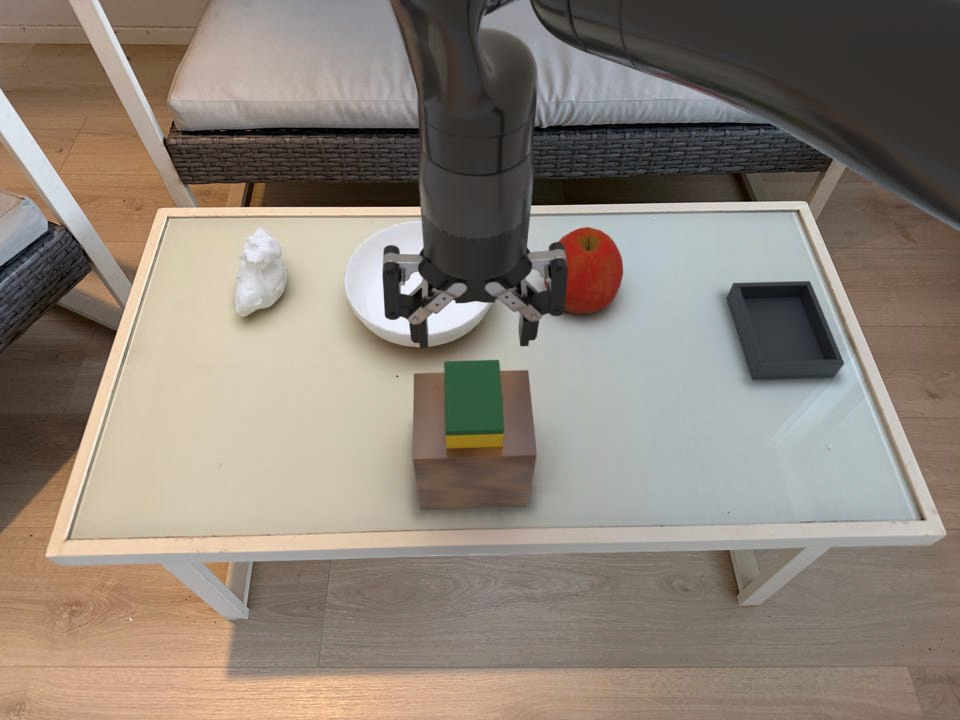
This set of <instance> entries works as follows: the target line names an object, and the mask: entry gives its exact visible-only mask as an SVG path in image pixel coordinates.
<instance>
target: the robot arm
mask: <svg viewBox="0 0 960 720" xmlns="http://www.w3.org/2000/svg"><path fill="white" fill-rule="evenodd" d="M385 1H386V4H387V6H388V9H389V11H390V13H391V16H392V19H393V22H394V24H395V27H396V30H397V32H398V35H399V40H400V42H401V44H402V46H403V48H402V49H403V50H404V53H405V56H406V60H407V63H408V66H409V68H410V72H411V74H412V78H413V81H414V84H415V89H416V105H417V107H416V108H417V120H418V121H417V122H418V134H419V135H418V137H419V152H418V154H419V155H418V161H417V177H418V178H417V184H418V191H419V203H420V204H419V205H420V221H422V234H423V249H422V250H421V252H420V253H419V254H400V250H399V248H398V247H397V246H394V245H388V246H386V247H385V248H384V253H383V273H382V276H383V293H384V310H385V317H386V318H387V319H389V320H396V319H398V318H399V317H403V318H406V319H407V320H408V321H409V326H410V335H411V340H412V342H413V343H419V345H420V347H419V349H421V350H424V349H427V350H428V349H429V346H428V322H427V318H428V317H429V316H430V315H431V314H432V313H435V314H438V313H439V312H440V311H441V310H442V309H443V308H444V307H446V306H447V305H448V304H449V303H450V302H451V301H452V300H454V301H455V303H468V302H474V301H477V302H484V303H492V304H494V303H496V300H499V301H500V302H501V303H502V304H504V305H505V306H506V307H507V308H508V309H509V310H510V311H512V312H513V313H516V312H518V313H519V318H518V337H519V338H518V340H519V347H529V345H530V341H535V340H536V339H537V338H538V332H539V324H540V320H541V319H542V317H543V316H545V315H548V314H549V315H551V316H552V317H560V316H562V315H564V314H565V311H566V310H565V301H566V289H567V277H568V266H567V259H566V253H565V247H564V244H563V243H561V242H558V241H555V242H552V243H550V245H549V246H548V250H543V251H542V250H541V251H531V250H530V249H529V248H528V243H529V242H528V241H529V239H528V238H529V233H530V231H529V230H530V220H531V211H532V203H533V201H532V200H533V192H534V191H533V190H534V180H535V160H534V159H535V158H534V136H535V125H536V116H537V115H536V114H537V106H538V105H537V103H538V96H539V95H538V94H539V73H538V71H539V70H538V64H537V61H536V58H535V55H534V52H533V51H532V49H531V48H530V46H528V43H526V42H525V41H523V40H522V38H520V37H518V36H517V35H515V34H513V33H511V32H509V31H506V30H503V29H500V28H499V29H498V28H492V27H484V26H482V23H483V18H484V17H486V16H487V15H490V14H492V13H495V12H497V11H499V10H501V9H503V8H506V7H508V6H510V5H512V4H515V3H517V2H519V1H520V0H385ZM528 1H529V3H530V6H531V8H532V11H533V13H534V15H535V17H536V19H537V20H538V22H539V23H540V24H541V26H542V27H543V28H544V29H545V30H546V31H547V32H548V33H550V34H551V36H553V37H554V38H555V39H557V40H559V41H560V42H562V43H563V44H565V45H567V46H570V47H571V48H573V49H576V50H579V51H581V52H584V53H586V54H589V55H590V56H591V55H592V56H595V57H598V58H600V59H603V60H606V61H608V62H612V63H614V64H618V65H620V66H623V67H626V68H628V69H632V70H634V71H637V72H641V73H643V74H646V75H649V76H652V77H655V78H657V79H661V80H663V81H667V82H670V83H673V84H677V85H679V86H683V87H685V88H688V89H691V90H693V91H696V92H698V93H700V94H703V95H706V96H709V97H711V98H714V99H716V100H719V101H721V102H723V103H726V104H728V105H729V106H732V107H734V108H737V109H739V110H741V111H743V112H745V113H747V114H750V115H752V116H754V117H755V118H757V119H760V121H761V120H762V121H763V122H766V123H767V124H770V125H771V126H773V127H776V128H777V129H779V130H781V131H783V132H784V133H786V134H788V135H790V136H792V137H794V138H795V139H797V140H799V141H801V142H802V143H805V144H806V145H808V146H809V147H812V148H814V149H815V150H817V151H819V152H821V153H822V154H823V155H826V156H827V157H829V158H830V159H832V160H834V161H836V162H838V163H839V164H841V165H843V166H844V167H846V168H848V169H850V170H851V171H853V172H855V173H856V174H858V175H860V176H862V177H864V178H865V179H867V180H868V181H870V182H871V183H873V184H875V185H877V186H879V187H881V188H882V189H884V190H886V191H887V192H889V193H891V194H892V195H894V196H896V197H898V198H899V199H901V200H902V201H904V202H905V203H908V204H910V205H912V206H913V207H914V208H917V209H918V210H920V211H922V212H924V213H925V214H927V215H929V216H931V217H933V218H935V219H937V220H938V221H940V222H942V223H944V224H945V225H947V226H949V227H951V228H953V229H955V230H956V231H958V232H960V0H528ZM532 270H535V271H537V272H538V273H539V276H540V277H541V278H543V279H544V278H545V281H546V282H547V289H545V290H542V291H539V290H537V289H536V288H535V286H533V285H532V284H531V283H530V282H529V281H528V280H527V277H528V276H529V275H530V274H531V272H532ZM414 272H419V274H420V275H421V277H422V278H423V279H422V282H421V284H420V285H419V286H418V287H417V288H416V289H415V290H413V291H412V292H411V293H410V294H409V295H406V294H402V293H401V286H403V285H405V281H407V280H409V279H410V276H411V274H412V273H414Z"/></svg>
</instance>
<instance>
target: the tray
mask: <svg viewBox="0 0 960 720" xmlns="http://www.w3.org/2000/svg"><path fill="white" fill-rule="evenodd" d="M726 301H727V305H728V307H729V310H730V313H731V317H732V320H733V323H734V326H735V329H736V333H737V335H738V339H739V342H740V345H741V348H742V351H743V355H744V357H745V361H746V364H747V367H748V370H749V373H750V377H751V379H752V380H754V381H755V380H758V381H759V380H790V379H791V380H794V379H826V378H827V379H829V378H830V379H831V378H834V377H836V375H837V374H838V373H839V371H840V370H841V369H842V367H843V366H844V365H845V362H844V359H843V357H842V354H841V352H840V349H839V347H838V345H837V342H836V340H835V338H834V335H833V333H832V330H831V328H830V325H829V324H828V323H829V322H828V321H827V318H826V315H825V314H824V312H823V309H822V307H821V304H820V301H819V299H818V297H817V294H816V292H815V289H814V287H813V285H812V283H811V281H810V280H801V281H800V280H799V281H798V280H797V281H794V280H793V281H765V282H764V281H761V282H760V281H759V282H757V281H756V282H733V283H732V285H731V286H730V289H729V291H728V294H727V295H726Z"/></svg>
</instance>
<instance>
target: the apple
mask: <svg viewBox="0 0 960 720" xmlns="http://www.w3.org/2000/svg"><path fill="white" fill-rule="evenodd" d="M557 242H561V243H563V244H564V247H565V253H566V259H567V266H568V277H567V289H566V301H565V311H566V312H568V313H571V314H578V315H579V314H580V315H585V314H592V313H596V312H599V311H600V310H602V309H605V308H607V307H608V306H609V305H610V303H611V302H613V301H614V300H615V298H616V296H617V294H618V292H619V289H620V288H621V284H622V281H623V276H624V264H623V263H624V262H623V257H622V255H621V252H620V249H619V247H618V246H617V244H616V242H615V241H614V240H613V239H612V237H611V236H610V235H608V234H607V233H605V232H604V231H602V229H597V228H594V227H589V226H585V227H579V228H577V229H574V230H572V231H569V232H568V233H567V234H565V235H564V236H562V237H561V238H560V239H559V240H558V241H557ZM543 283H544V287H545V290H547V282H546V281H545V278H543Z"/></svg>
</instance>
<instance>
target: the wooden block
mask: <svg viewBox="0 0 960 720" xmlns="http://www.w3.org/2000/svg"><path fill="white" fill-rule="evenodd" d="M500 379H501V393H502V407H503V421H504V437H503V447H484V448H453V449H447V448H446V435H445V384H444V372H416V373H415V372H414V373H413V402H412V403H413V404H412V405H413V406H412V410H413V411H412V465H413V471H414V478H415V485H416V491H417V493H416V494H417V500H418V505H419V506H418V507H419V509H420V510H423V509H425V510H426V509H452V508H453V509H454V508H456V509H457V508H481V507H484V508H485V507H511V506H529V502H530V497H531V492H532V491H531V490H532V485H533V480H534V479H533V478H534V473H535V469H536V462H537V458H538V457H537V456H538V453H537V443H536V433H535V424H534V413H533V404H532V403H533V402H532V394H531V393H532V392H531V384H530V373H529V370H528V369H524V370H523V369H521V370H500Z"/></svg>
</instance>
